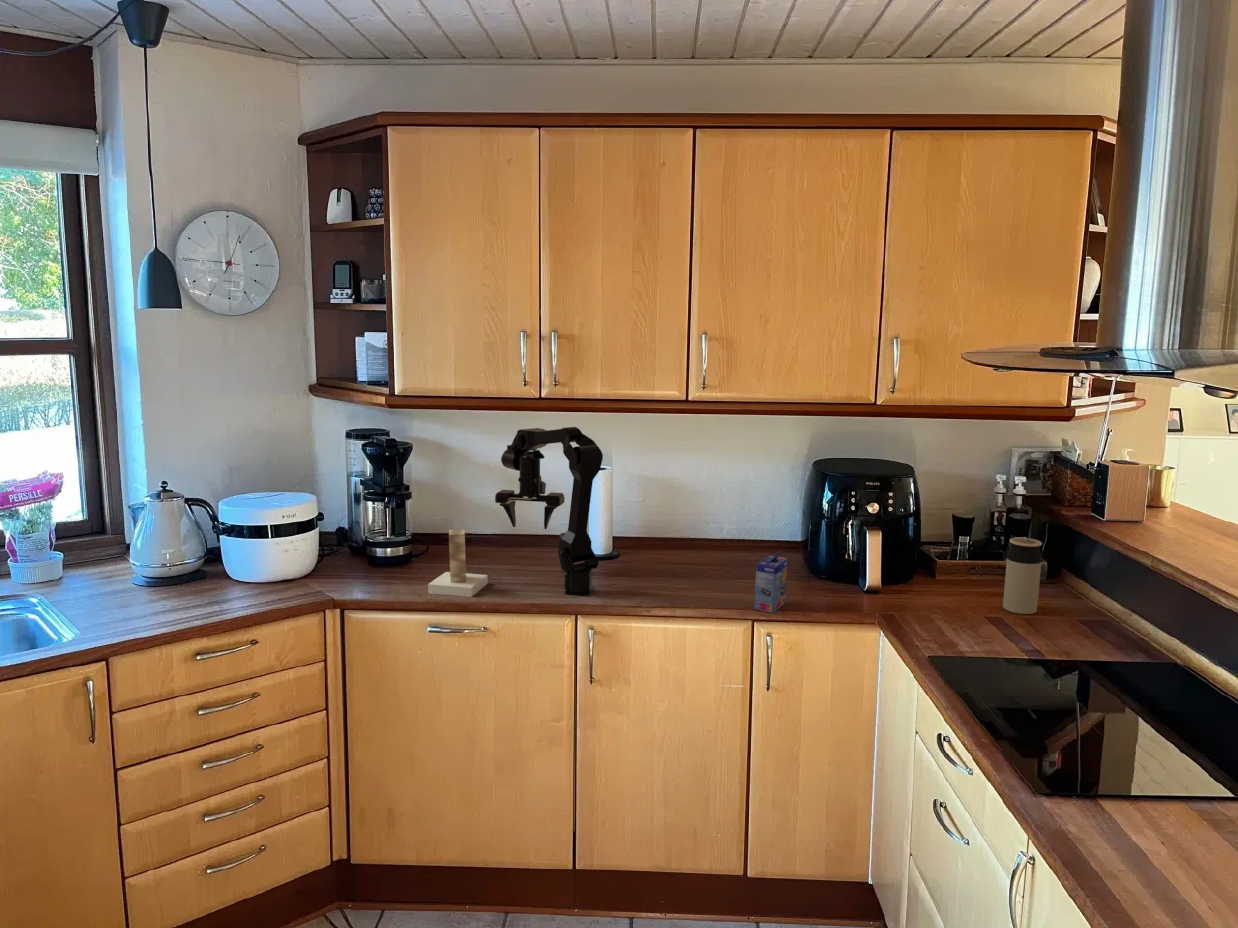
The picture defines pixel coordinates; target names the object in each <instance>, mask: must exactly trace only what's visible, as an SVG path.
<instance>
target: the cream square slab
mask: <svg viewBox="0 0 1238 928" xmlns="http://www.w3.org/2000/svg"><path fill="white" fill-rule="evenodd" d="M488 576H489V575H488V574H482V573H481V574H477V573H467V572H466V582H450V571H445V572H444V573H443V574H440V575H439V576H438V577H436V578H435V579H433V580H432V581H431V582H429V583H428V584H427V592H428V594H430V595H440V596H441V595H442V596H453V595H454V596H456V597H469V598H472V597H474V596H475V595H476V594H477V593H478V592H479V591H480V590H482V589H483V588H484V587H486V586H487V585H488V578H489V577H488Z"/></svg>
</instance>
